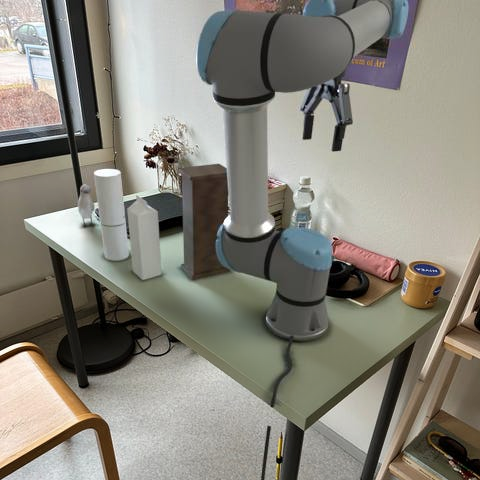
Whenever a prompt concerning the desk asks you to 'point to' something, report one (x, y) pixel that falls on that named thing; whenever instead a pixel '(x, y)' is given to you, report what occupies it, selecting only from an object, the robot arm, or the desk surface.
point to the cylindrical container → (112, 213)
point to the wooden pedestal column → (203, 218)
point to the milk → (144, 239)
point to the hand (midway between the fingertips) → (320, 145)
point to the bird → (85, 203)
